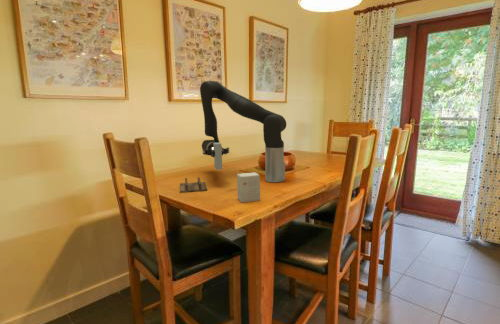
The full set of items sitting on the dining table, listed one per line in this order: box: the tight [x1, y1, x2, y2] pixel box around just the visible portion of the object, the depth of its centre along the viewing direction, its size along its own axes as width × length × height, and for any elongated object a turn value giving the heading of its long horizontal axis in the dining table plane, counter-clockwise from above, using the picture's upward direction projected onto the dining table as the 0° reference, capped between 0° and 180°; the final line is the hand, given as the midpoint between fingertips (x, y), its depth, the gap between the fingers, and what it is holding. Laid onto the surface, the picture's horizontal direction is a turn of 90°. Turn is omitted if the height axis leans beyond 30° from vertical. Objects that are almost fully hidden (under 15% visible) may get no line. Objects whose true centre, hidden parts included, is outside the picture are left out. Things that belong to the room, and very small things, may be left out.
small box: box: [236, 171, 261, 203], centre depth 116 cm, size 8×6×10 cm
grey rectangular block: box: [213, 142, 223, 171], centre depth 137 cm, size 3×6×12 cm, turn 13°
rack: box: [179, 176, 208, 194], centre depth 136 cm, size 12×14×3 cm
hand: (218, 153), depth 135 cm, fingers closed on grey rectangular block, 3 cm apart
